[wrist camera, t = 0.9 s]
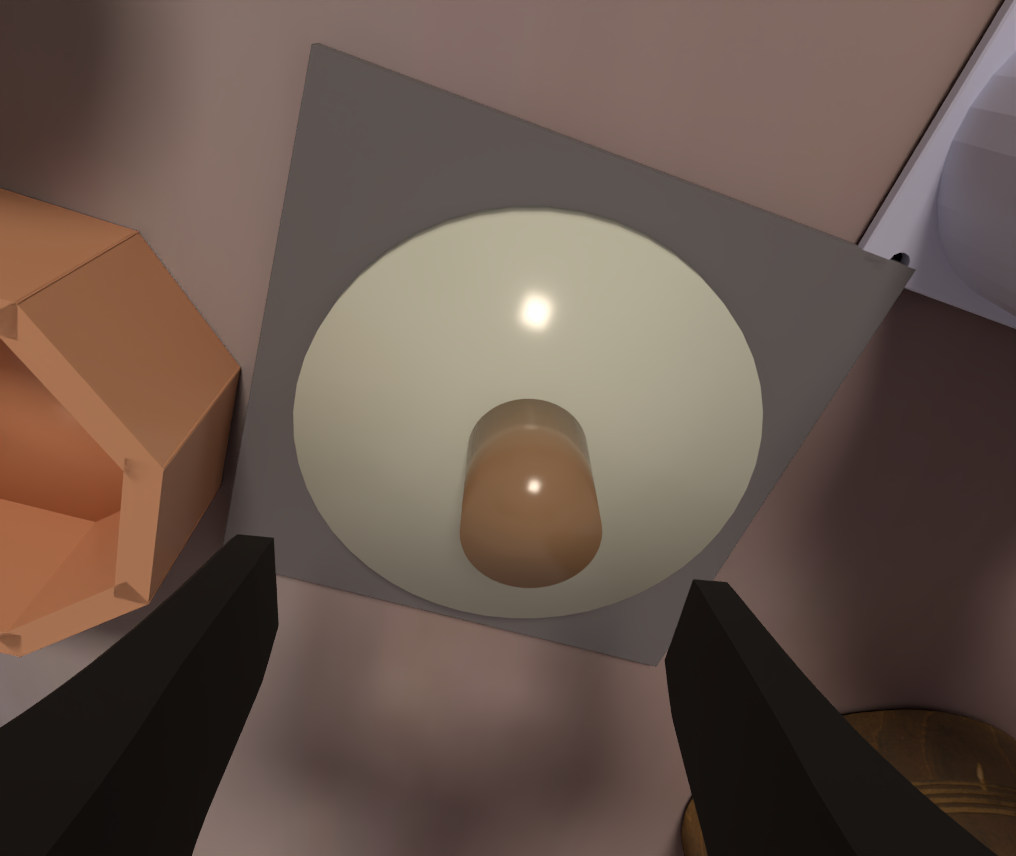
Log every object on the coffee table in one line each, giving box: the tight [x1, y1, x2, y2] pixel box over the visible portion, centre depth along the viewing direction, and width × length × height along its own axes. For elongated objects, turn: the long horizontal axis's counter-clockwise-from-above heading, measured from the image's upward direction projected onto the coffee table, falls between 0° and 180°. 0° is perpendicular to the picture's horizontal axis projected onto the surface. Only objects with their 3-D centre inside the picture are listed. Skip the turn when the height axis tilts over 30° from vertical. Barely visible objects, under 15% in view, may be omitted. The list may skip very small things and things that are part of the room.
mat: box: [223, 43, 916, 666], centre depth 20 cm, size 15×15×1 cm
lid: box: [293, 206, 763, 618], centre depth 18 cm, size 12×12×4 cm
